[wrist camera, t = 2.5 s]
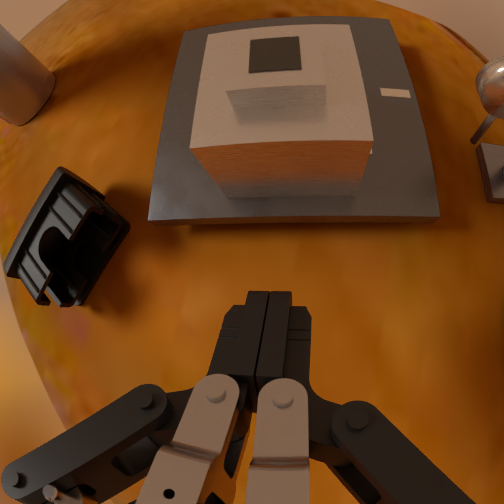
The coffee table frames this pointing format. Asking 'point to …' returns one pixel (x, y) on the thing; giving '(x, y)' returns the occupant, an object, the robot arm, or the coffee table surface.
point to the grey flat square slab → (304, 207)
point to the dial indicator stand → (497, 105)
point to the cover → (282, 112)
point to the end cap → (65, 241)
